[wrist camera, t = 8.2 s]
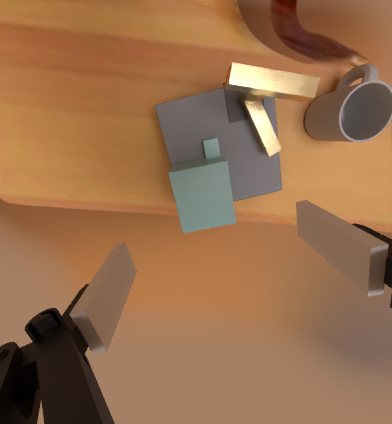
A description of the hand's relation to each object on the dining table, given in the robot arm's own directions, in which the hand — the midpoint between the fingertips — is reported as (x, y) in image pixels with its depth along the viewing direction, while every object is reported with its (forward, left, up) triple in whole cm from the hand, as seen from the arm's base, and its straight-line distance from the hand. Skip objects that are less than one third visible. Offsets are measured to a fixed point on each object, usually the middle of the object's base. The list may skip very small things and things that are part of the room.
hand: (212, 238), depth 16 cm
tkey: (-7, +8, -17) cm, 20 cm away
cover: (-1, 0, -17) cm, 17 cm away
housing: (-4, +5, -23) cm, 24 cm away
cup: (-6, +24, -24) cm, 34 cm away
